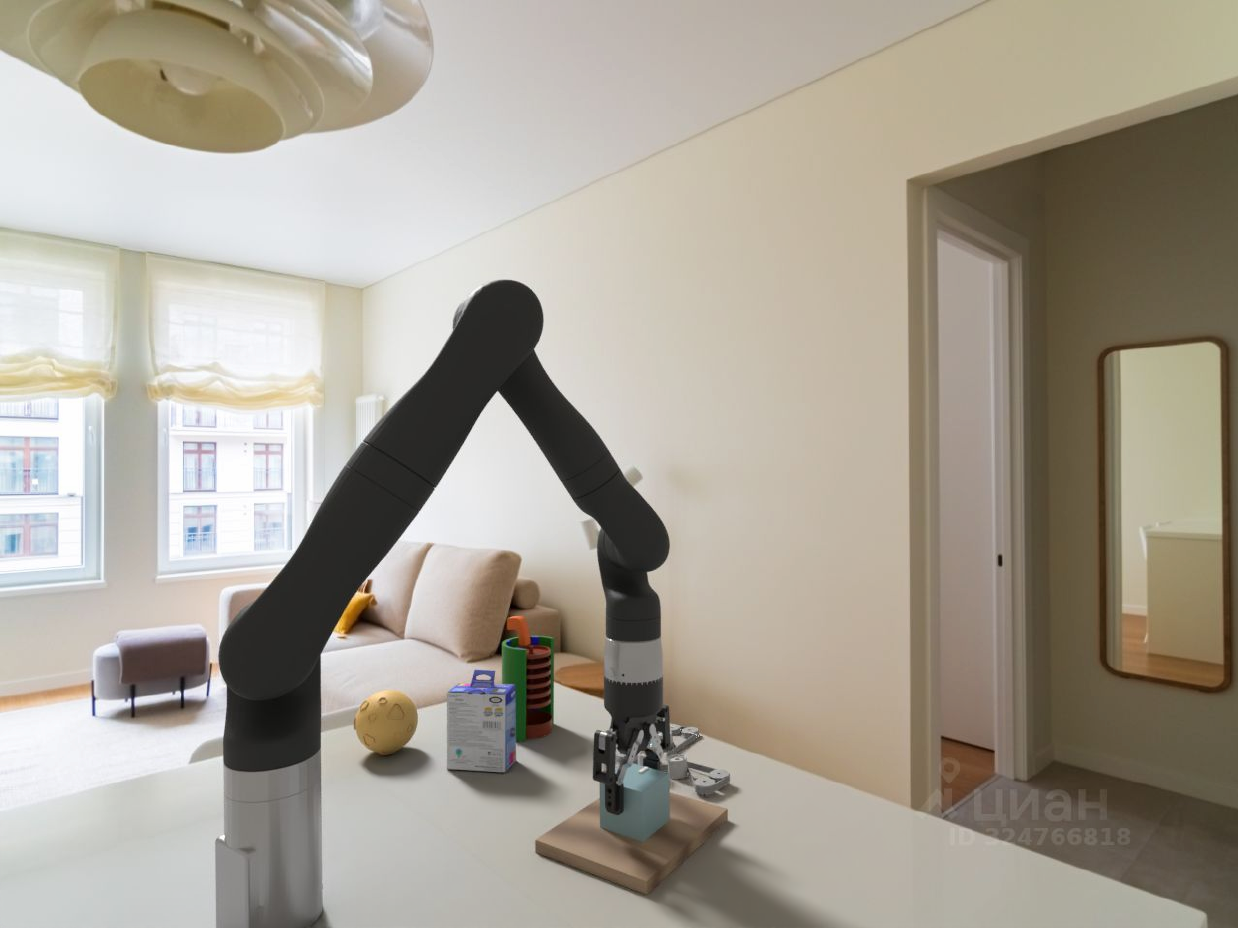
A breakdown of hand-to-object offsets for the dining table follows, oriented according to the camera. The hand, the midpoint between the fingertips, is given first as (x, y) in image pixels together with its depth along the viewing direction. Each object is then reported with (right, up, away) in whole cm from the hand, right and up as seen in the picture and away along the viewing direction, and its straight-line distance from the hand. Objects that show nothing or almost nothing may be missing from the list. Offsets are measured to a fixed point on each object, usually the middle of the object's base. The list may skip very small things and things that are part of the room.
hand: (633, 799), depth 92 cm
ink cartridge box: (-23, -5, +22) cm, 33 cm away
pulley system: (+6, -5, +23) cm, 24 cm away
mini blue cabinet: (0, -3, 0) cm, 3 cm away
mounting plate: (0, -5, 0) cm, 5 cm away
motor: (-18, -5, +37) cm, 41 cm away
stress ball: (-40, -5, +28) cm, 49 cm away
